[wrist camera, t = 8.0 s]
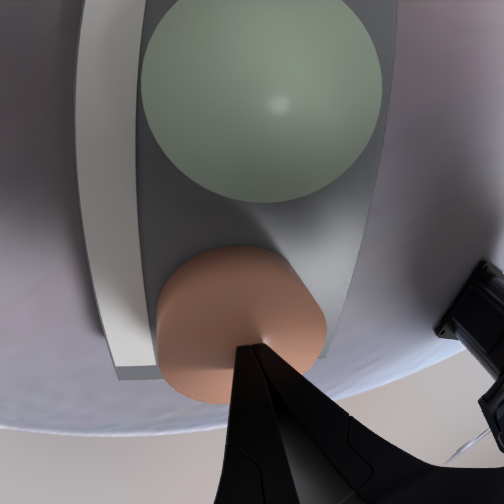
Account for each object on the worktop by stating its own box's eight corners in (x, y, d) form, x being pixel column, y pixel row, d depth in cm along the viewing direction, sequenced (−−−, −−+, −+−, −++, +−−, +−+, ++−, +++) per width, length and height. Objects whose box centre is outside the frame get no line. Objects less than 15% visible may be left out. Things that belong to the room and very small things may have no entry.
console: (363, -98, 5) (391, -114, 3) (309, 329, 15) (326, 359, 13) (143, -134, 3) (143, -162, 1) (120, 346, 12) (118, 382, 11)
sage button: (345, 18, 6) (389, 6, 5) (325, 180, 9) (363, 205, 7) (158, -9, 5) (156, -40, 3) (146, 178, 7) (140, 205, 6)
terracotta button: (314, 242, 10) (345, 276, 8) (289, 353, 12) (307, 390, 10) (149, 249, 8) (147, 290, 7) (164, 366, 11) (167, 410, 9)
